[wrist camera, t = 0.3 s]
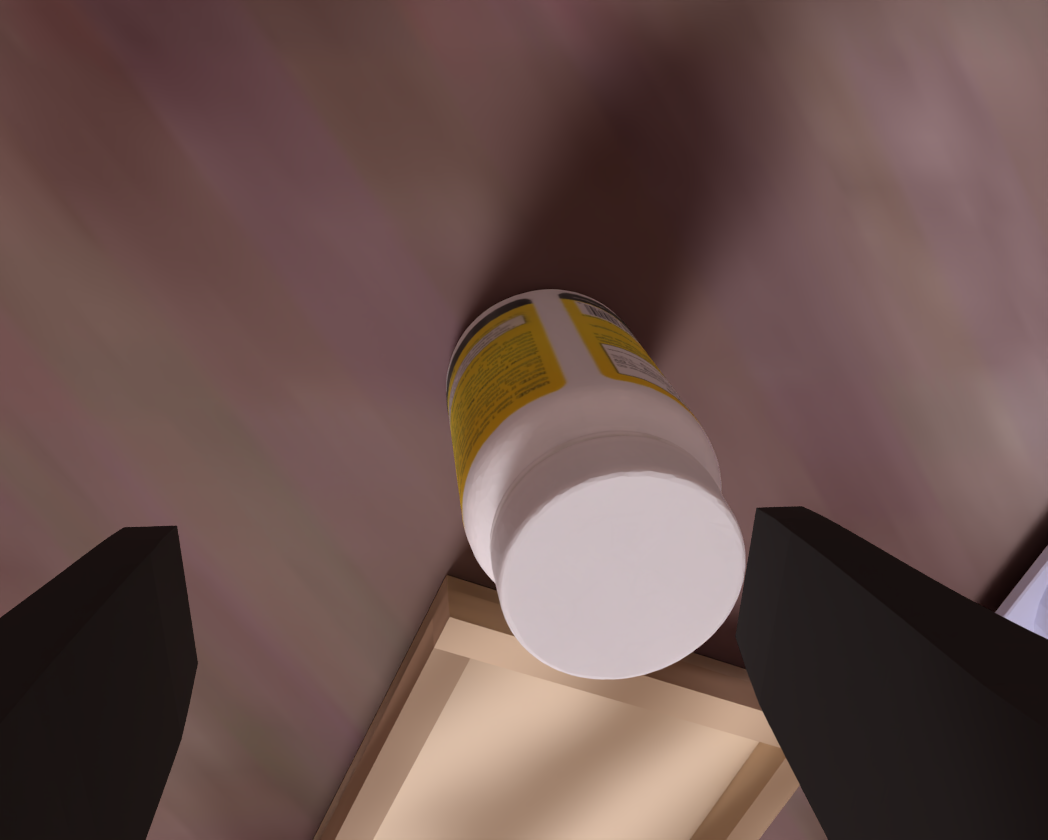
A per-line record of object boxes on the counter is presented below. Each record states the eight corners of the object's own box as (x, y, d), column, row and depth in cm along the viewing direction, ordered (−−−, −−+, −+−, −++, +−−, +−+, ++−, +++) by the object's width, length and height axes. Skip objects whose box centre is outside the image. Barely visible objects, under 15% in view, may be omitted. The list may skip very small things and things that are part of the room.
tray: (811, 690, 27) (837, 733, 25) (627, 944, 30) (640, 997, 29) (446, 575, 23) (449, 617, 22) (293, 878, 27) (286, 933, 25)
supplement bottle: (451, 473, 22) (477, 715, 14) (438, 291, 20) (459, 461, 12) (638, 458, 22) (759, 684, 15) (643, 278, 20) (786, 433, 13)
